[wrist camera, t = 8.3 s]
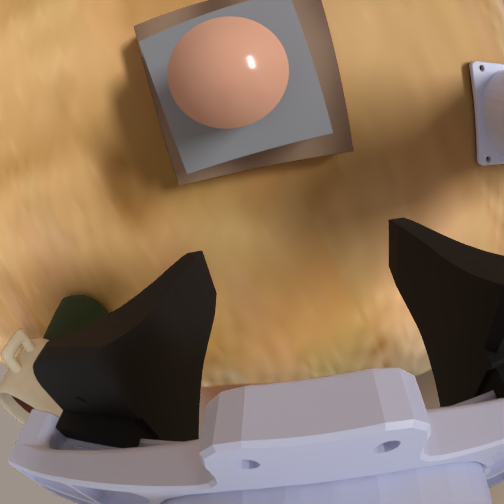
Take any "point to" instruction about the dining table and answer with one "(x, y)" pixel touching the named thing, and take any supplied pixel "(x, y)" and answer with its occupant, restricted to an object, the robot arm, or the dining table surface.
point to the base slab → (327, 72)
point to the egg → (228, 72)
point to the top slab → (270, 126)
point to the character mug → (21, 368)
